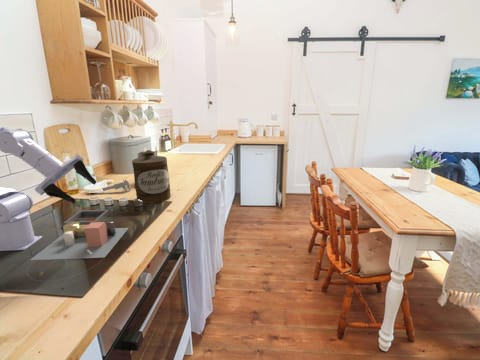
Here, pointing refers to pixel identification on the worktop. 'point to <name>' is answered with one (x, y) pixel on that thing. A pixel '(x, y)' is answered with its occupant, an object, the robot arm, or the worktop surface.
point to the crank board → (78, 247)
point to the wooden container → (151, 178)
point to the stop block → (96, 234)
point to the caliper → (118, 186)
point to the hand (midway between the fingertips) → (85, 192)
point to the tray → (88, 216)
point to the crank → (79, 229)
